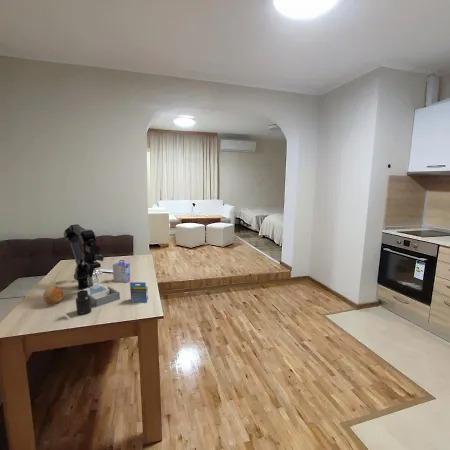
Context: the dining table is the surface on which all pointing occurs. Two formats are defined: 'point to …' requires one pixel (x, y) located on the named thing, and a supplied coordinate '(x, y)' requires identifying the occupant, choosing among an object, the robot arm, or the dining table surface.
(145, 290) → the label tape cartridge
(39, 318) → the dining table surface
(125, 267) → the ink cartridge box
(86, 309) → the supplement bottle
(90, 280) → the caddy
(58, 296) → the onion
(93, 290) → the light blue cube
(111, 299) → the bay
